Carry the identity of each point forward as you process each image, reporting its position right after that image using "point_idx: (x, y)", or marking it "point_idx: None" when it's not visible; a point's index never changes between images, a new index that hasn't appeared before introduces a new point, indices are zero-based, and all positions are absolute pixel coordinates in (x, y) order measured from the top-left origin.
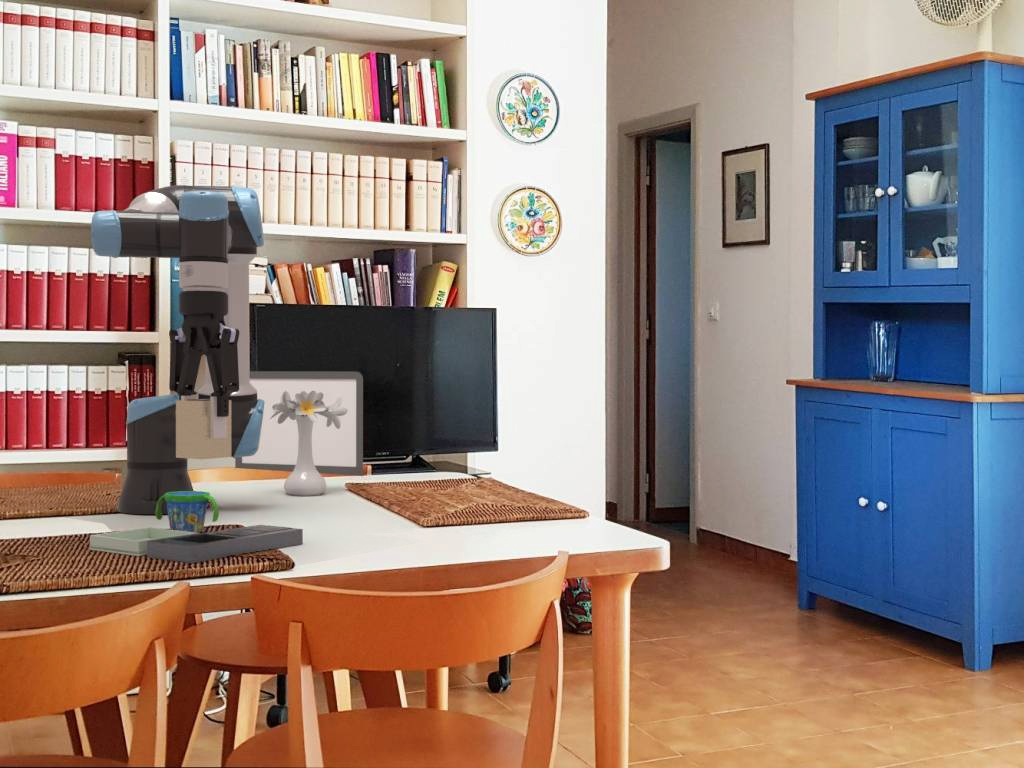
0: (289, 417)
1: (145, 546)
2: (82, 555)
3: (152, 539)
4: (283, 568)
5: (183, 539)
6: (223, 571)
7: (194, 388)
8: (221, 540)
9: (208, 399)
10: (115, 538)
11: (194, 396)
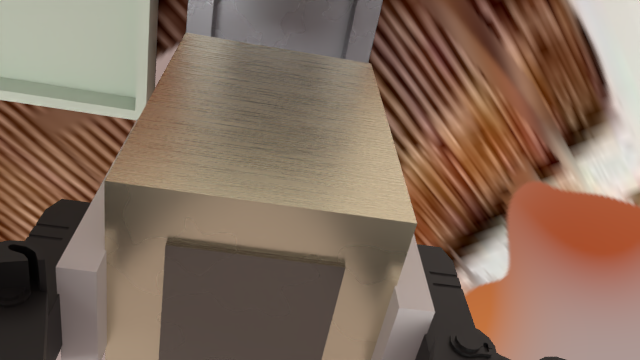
0: None
1: (149, 93)
2: (24, 147)
3: (147, 78)
4: (587, 105)
5: (211, 29)
6: (474, 184)
7: (45, 318)
8: (353, 37)
9: (296, 327)
10: (45, 106)
11: (99, 293)
